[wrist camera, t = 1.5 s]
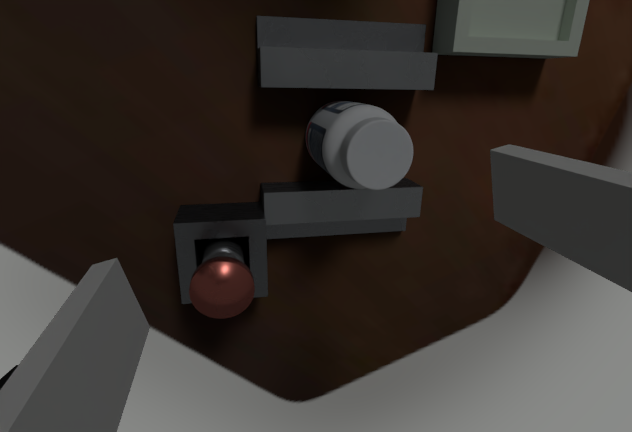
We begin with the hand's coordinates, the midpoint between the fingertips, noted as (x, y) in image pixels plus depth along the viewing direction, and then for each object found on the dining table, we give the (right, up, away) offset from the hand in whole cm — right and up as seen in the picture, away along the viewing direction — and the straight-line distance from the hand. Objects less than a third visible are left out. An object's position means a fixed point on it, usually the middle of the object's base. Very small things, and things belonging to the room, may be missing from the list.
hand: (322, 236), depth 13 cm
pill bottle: (+1, +7, +17) cm, 18 cm away
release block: (-7, -1, +17) cm, 19 cm away
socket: (+1, +7, +16) cm, 18 cm away
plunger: (-7, -2, +15) cm, 17 cm away
